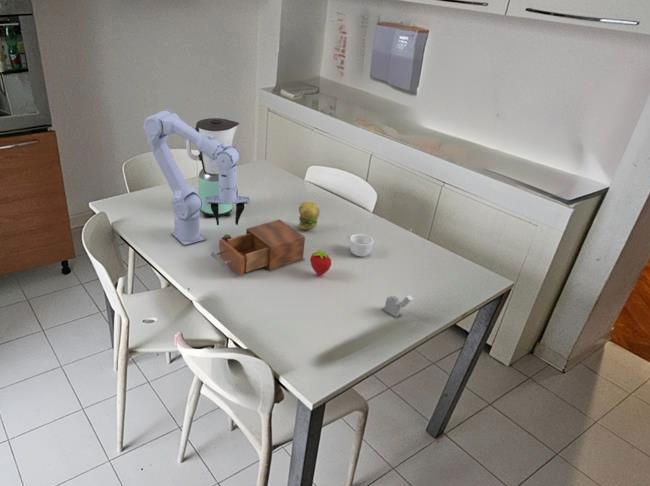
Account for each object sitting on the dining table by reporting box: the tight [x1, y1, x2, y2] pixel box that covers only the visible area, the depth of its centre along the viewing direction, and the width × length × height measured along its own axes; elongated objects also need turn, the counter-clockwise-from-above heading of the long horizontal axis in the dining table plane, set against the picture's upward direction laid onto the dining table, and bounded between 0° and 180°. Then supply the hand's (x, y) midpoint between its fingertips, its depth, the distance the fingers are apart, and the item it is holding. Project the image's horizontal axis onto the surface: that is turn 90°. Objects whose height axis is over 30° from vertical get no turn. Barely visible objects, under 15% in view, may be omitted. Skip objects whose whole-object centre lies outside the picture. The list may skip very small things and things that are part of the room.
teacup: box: [346, 233, 374, 258], centre depth 178 cm, size 10×8×5 cm
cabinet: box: [245, 219, 306, 271], centre depth 174 cm, size 14×14×9 cm
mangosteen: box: [221, 234, 232, 242], centre depth 178 cm, size 4×4×5 cm
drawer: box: [210, 233, 270, 277], centre depth 167 cm, size 17×13×7 cm
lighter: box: [383, 294, 414, 318], centre depth 148 cm, size 7×2×8 cm, turn 39°
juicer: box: [185, 117, 240, 218], centre depth 193 cm, size 19×13×35 cm
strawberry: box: [309, 249, 332, 277], centre depth 163 cm, size 6×8×10 cm
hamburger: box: [297, 201, 321, 231], centre depth 188 cm, size 8×7×12 cm
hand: (227, 223), depth 174 cm, fingers open, 6 cm apart
